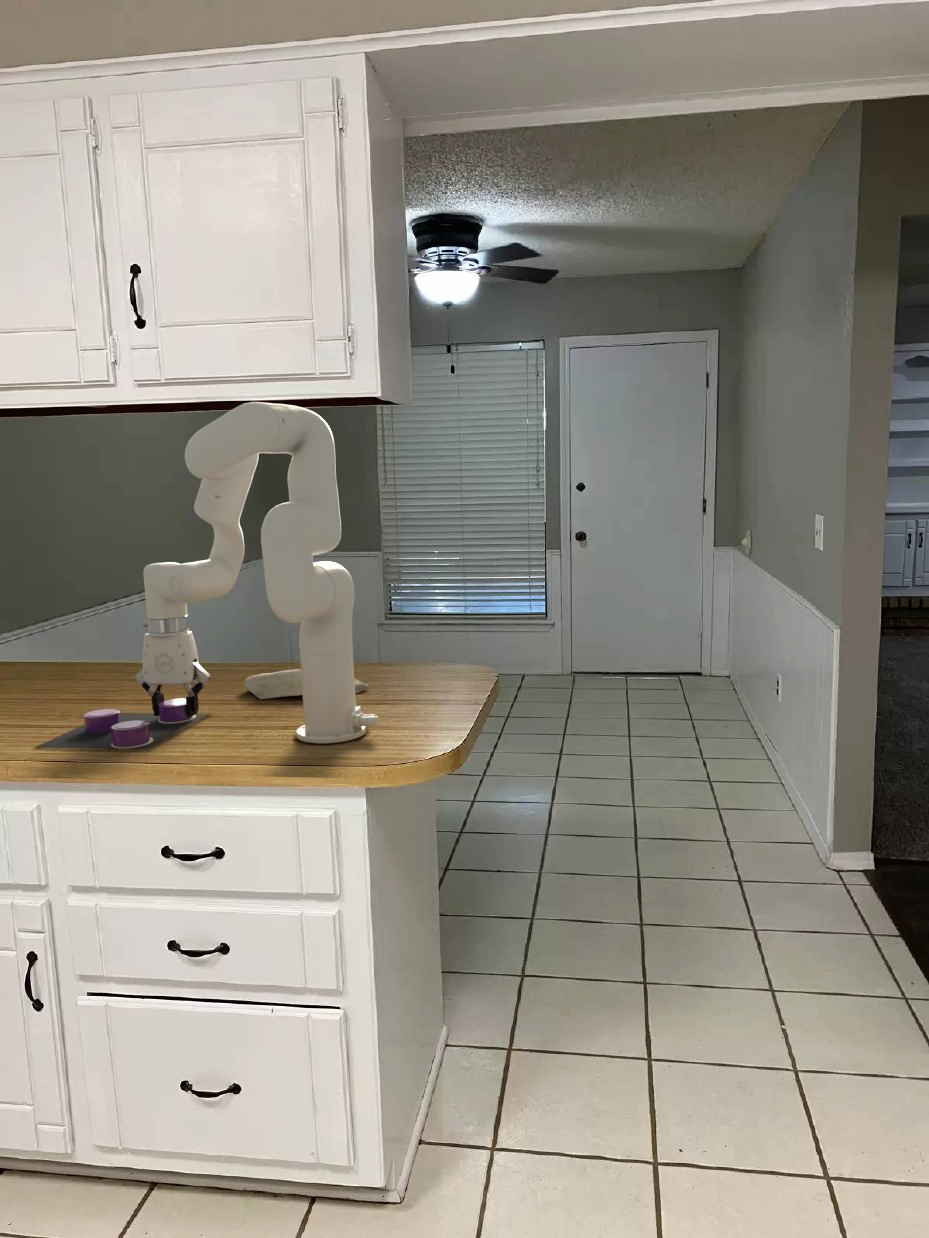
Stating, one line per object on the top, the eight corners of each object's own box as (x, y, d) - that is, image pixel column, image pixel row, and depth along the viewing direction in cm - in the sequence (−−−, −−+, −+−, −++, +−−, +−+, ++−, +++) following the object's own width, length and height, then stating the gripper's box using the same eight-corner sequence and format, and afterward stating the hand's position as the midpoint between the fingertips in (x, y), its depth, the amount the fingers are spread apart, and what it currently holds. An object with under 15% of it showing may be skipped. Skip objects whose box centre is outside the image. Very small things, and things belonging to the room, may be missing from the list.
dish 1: (127, 724, 176) (125, 708, 175) (108, 734, 169) (107, 717, 169) (97, 724, 177) (96, 708, 176) (78, 733, 171) (76, 716, 170)
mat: (209, 715, 182) (209, 713, 182) (146, 751, 159) (146, 748, 158) (110, 714, 186) (110, 712, 186) (35, 749, 163) (35, 746, 163)
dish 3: (198, 714, 182) (197, 698, 181) (183, 722, 175) (182, 706, 175) (169, 713, 183) (168, 697, 182) (153, 722, 177) (151, 705, 176)
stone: (225, 679, 197) (265, 667, 211) (231, 712, 198) (270, 697, 211) (333, 668, 186) (367, 655, 200) (339, 702, 187) (373, 687, 201)
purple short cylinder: (156, 737, 166) (155, 719, 165) (138, 747, 159) (136, 729, 159) (125, 736, 167) (123, 719, 166) (105, 746, 161) (103, 729, 160)
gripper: (117, 629, 174) (126, 719, 177) (200, 628, 171) (207, 720, 174) (138, 622, 181) (146, 709, 184) (218, 622, 178) (225, 710, 181)
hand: (176, 713), depth 179 cm, fingers closed on dish 3, 6 cm apart
